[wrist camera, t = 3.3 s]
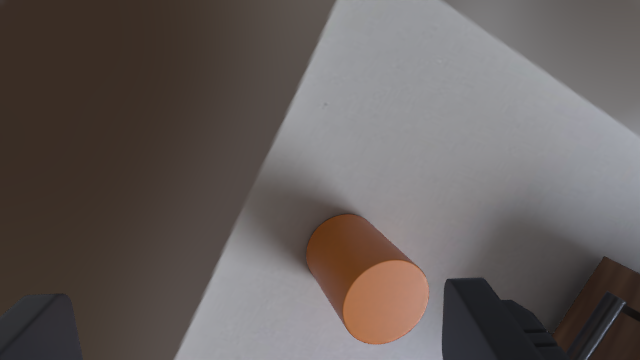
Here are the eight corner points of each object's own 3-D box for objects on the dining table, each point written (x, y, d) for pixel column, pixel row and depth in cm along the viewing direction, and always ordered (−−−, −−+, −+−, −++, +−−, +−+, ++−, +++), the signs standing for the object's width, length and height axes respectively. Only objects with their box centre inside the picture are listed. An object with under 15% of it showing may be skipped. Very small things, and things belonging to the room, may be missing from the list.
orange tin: (330, 201, 31) (374, 245, 25) (391, 231, 33) (445, 279, 27) (291, 268, 32) (324, 328, 25) (353, 294, 34) (398, 355, 27)
